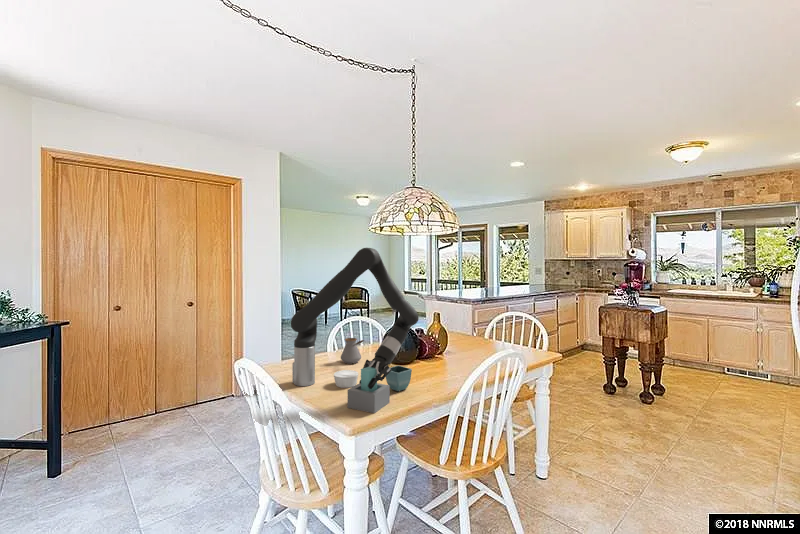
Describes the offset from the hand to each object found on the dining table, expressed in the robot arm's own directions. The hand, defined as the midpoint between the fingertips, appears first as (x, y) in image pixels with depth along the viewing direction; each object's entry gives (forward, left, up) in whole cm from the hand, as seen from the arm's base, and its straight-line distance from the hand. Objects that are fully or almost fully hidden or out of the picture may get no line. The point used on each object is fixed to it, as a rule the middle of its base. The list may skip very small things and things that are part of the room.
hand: (365, 385), depth 152 cm
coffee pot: (-36, +50, -8) cm, 62 cm away
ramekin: (-21, +19, -8) cm, 30 cm away
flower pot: (+3, +24, -8) cm, 25 cm away
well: (+1, +2, -8) cm, 8 cm away
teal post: (+1, +2, -5) cm, 5 cm away
